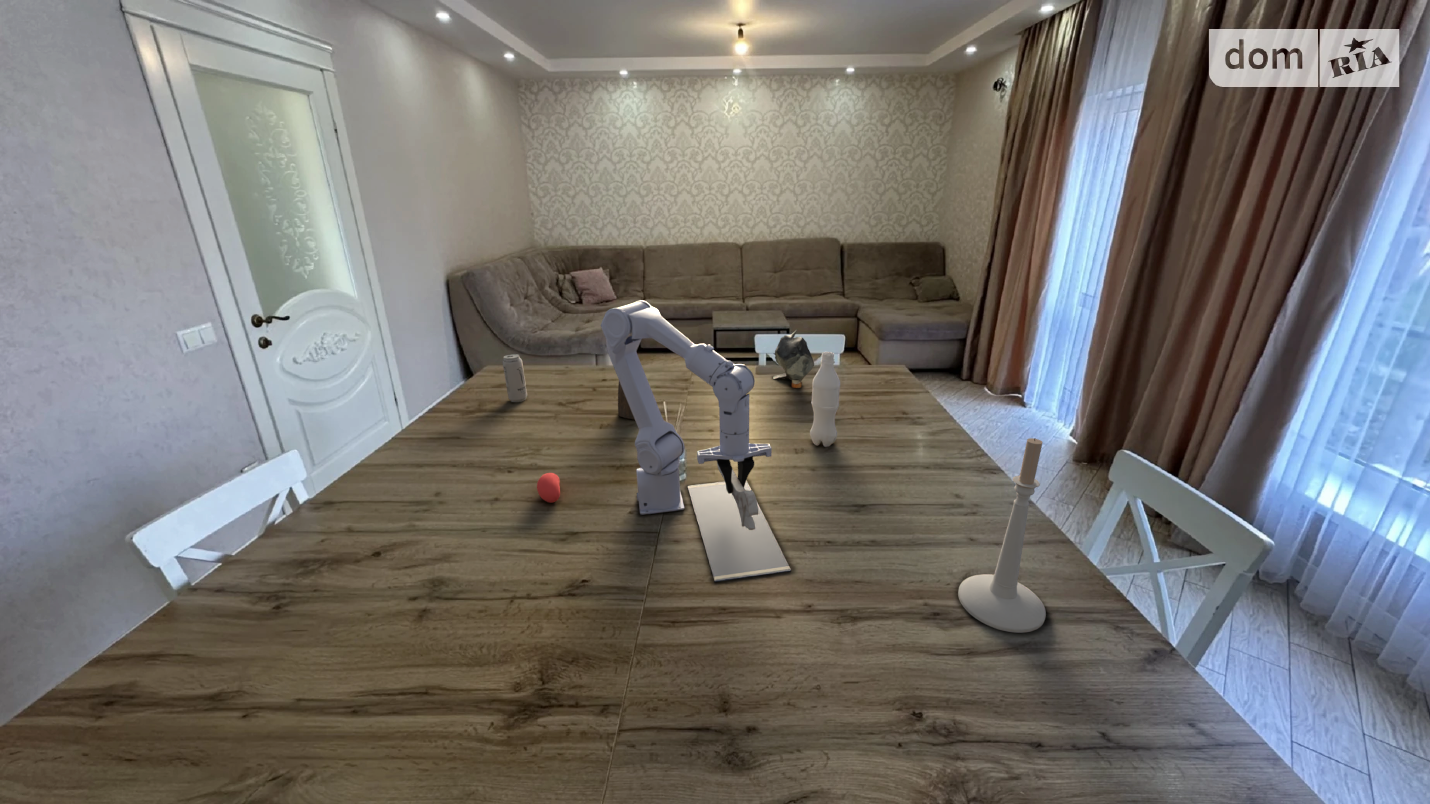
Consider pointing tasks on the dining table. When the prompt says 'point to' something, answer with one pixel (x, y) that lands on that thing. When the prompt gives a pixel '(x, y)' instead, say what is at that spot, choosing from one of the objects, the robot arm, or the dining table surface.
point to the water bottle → (825, 401)
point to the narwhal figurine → (793, 359)
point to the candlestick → (1009, 566)
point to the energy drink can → (514, 378)
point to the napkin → (734, 536)
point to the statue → (623, 404)
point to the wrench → (743, 502)
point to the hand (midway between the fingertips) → (734, 490)
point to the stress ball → (549, 487)
